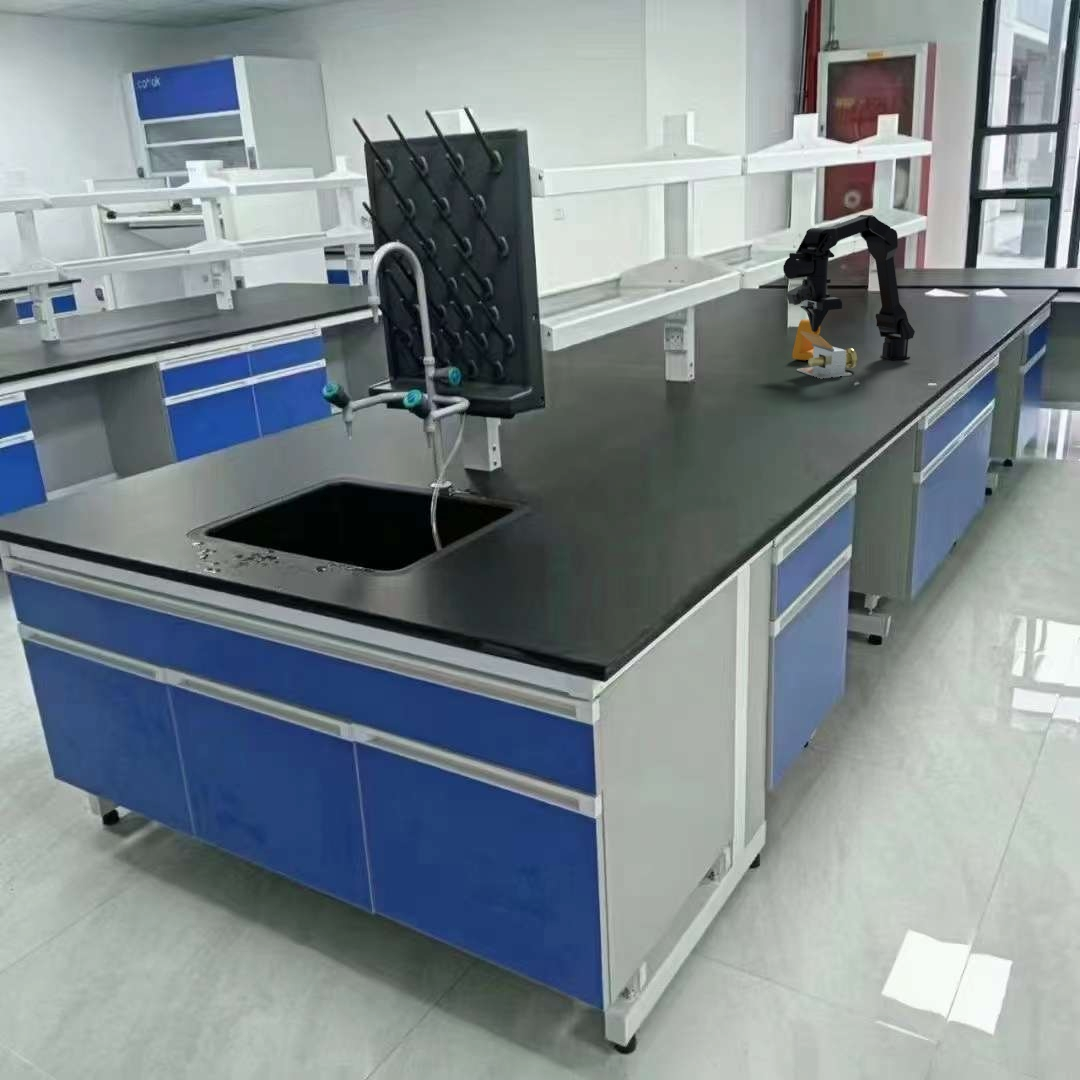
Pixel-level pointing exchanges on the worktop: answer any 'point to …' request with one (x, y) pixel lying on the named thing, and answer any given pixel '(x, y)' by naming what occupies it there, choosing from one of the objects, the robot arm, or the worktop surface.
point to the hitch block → (828, 364)
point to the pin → (850, 359)
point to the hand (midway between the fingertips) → (814, 331)
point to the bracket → (804, 342)
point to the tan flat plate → (817, 341)
